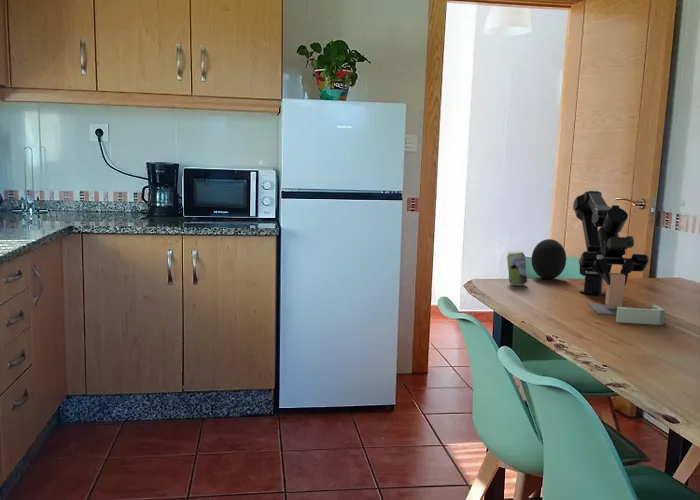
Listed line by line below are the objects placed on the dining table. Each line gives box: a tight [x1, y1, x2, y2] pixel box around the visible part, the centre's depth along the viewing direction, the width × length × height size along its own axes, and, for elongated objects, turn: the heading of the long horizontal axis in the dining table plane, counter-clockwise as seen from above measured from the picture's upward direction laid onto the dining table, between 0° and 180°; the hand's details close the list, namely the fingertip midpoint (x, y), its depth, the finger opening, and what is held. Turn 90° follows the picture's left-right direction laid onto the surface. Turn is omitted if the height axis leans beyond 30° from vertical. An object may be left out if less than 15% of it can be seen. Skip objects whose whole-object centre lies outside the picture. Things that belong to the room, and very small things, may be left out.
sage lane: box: [615, 304, 666, 326], centre depth 172 cm, size 7×12×4 cm, turn 83°
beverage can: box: [506, 250, 528, 286], centre depth 217 cm, size 6×7×12 cm
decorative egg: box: [530, 238, 567, 280], centre depth 229 cm, size 12×12×15 cm
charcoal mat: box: [587, 303, 631, 316], centre depth 184 cm, size 12×12×1 cm
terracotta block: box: [604, 272, 626, 307], centre depth 183 cm, size 4×4×10 cm
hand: (617, 284), depth 181 cm, fingers closed on terracotta block, 4 cm apart
